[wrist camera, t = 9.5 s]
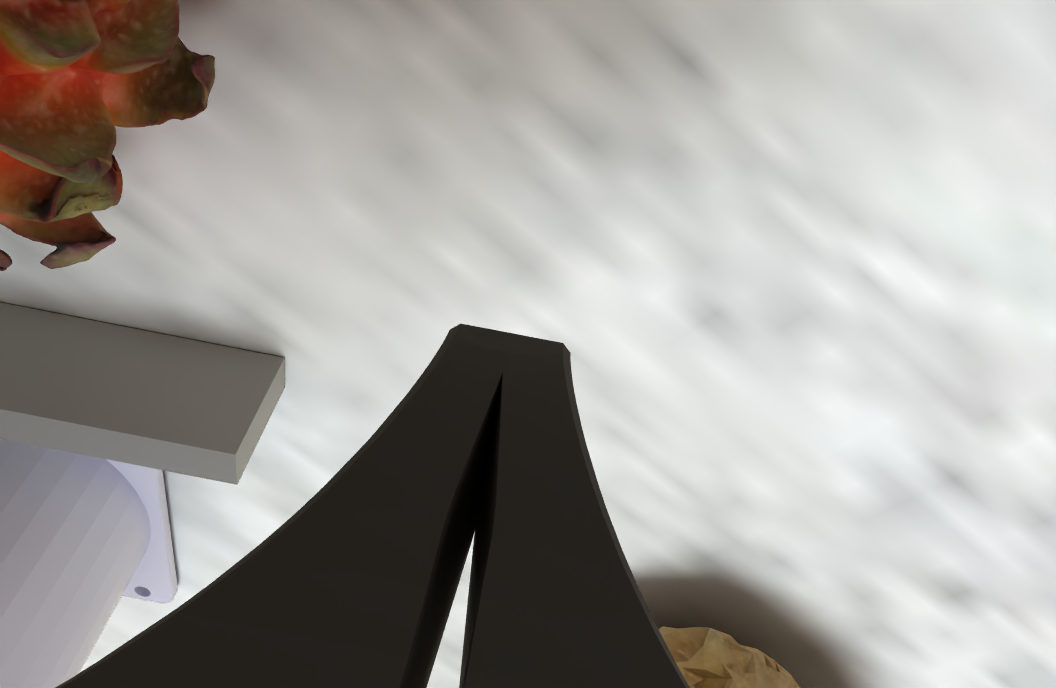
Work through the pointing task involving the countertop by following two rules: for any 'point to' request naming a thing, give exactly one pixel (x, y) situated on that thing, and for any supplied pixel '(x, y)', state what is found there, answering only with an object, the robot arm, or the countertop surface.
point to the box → (133, 394)
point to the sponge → (722, 661)
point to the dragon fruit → (83, 109)
